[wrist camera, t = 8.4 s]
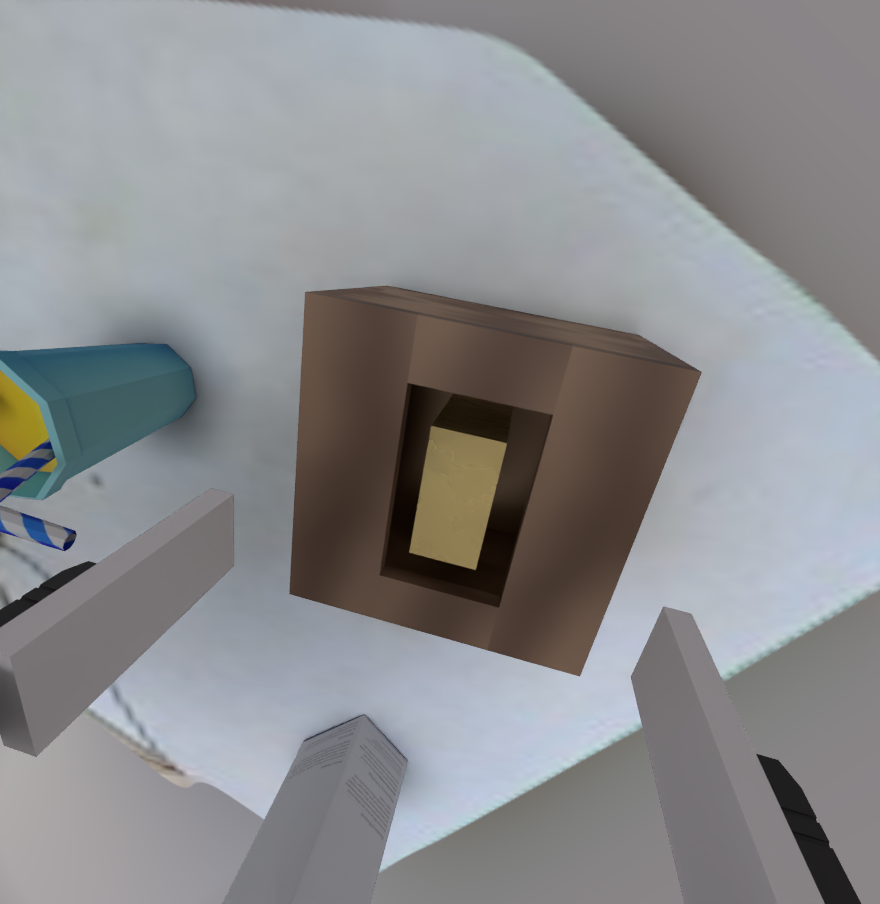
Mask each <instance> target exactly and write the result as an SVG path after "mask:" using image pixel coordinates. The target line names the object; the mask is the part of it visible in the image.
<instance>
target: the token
mask: <svg viewBox="0 0 880 904" xmlns="http://www.w3.org/2000/svg"><path fill="white" fill-rule="evenodd" d="M512 411H513V406H510V405H506V404H501V403H497V402H492V401H487V400H483V399H478V398H474V397H469V396H465V395H460V394H456V393H453V395H452V396H451V398H450V399H449V401H448V402H447V404H446V405H445V407H444V408H443V409H442V411H441V412H440V414H439V415H438V417H437V418H436V420H435V421H434V423H433V424H432V425H431V430H430V436H429V442H428V447H427V453H426V459H425V465H424V470H423V476H422V482H421V488H420V493H419V499H418V505H417V511H416V516H415V522H414V528H413V534H412V539H411V545H410V551H409V553H413V554H417V555H421V556H424V557H428V558H432V559H436V560H440V561H443V562H447V563H451V564H455V565H459V566H462V567H466V568H470V569H474V570H476V567H477V563H478V559H479V555H480V551H481V547H482V543H483V539H484V535H485V531H486V527H487V522H488V518H489V514H490V510H491V506H492V502H493V498H494V494H495V490H496V486H497V482H498V478H499V474H500V470H501V466H502V462H503V458H504V454H505V450H506V446H507V441H508V435H509V429H510V423H511V417H512Z"/></svg>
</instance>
